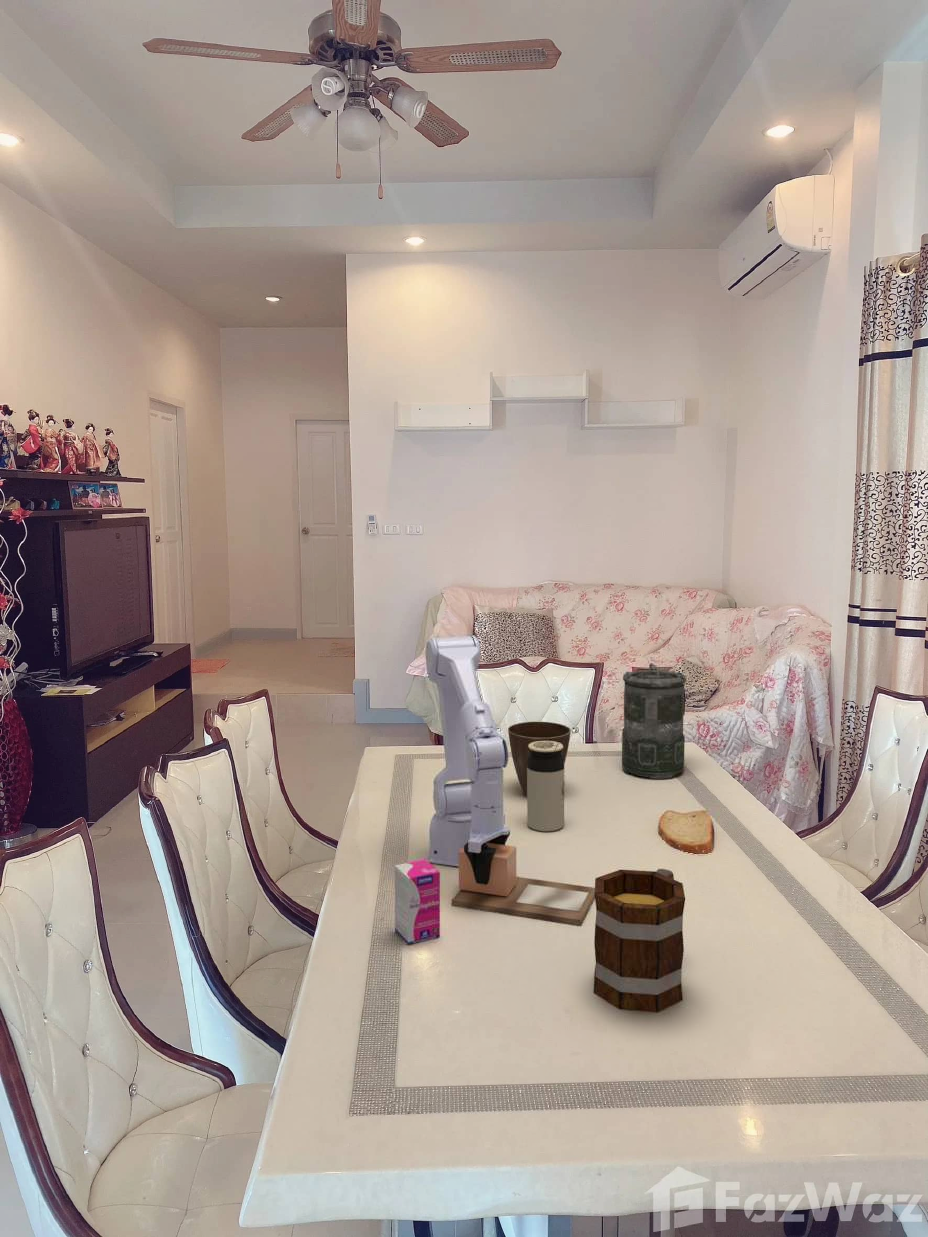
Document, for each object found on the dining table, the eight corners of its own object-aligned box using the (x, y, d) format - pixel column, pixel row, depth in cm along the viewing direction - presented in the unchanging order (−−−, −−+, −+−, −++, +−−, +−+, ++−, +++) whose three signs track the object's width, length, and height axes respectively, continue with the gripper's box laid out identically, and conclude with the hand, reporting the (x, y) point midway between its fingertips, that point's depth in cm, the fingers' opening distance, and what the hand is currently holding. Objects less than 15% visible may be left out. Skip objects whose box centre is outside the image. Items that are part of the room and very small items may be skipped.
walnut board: (451, 905, 155) (451, 899, 155) (476, 876, 167) (476, 870, 167) (580, 926, 147) (580, 919, 147) (597, 893, 159) (597, 887, 159)
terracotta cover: (458, 889, 158) (458, 851, 158) (469, 876, 164) (469, 840, 163) (507, 896, 155) (506, 858, 154) (516, 883, 161) (516, 846, 160)
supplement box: (408, 946, 141) (407, 878, 140) (394, 930, 146) (392, 864, 145) (441, 938, 144) (440, 870, 142) (426, 923, 149) (425, 857, 147)
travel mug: (522, 829, 191) (522, 748, 188) (533, 817, 198) (533, 738, 196) (558, 834, 188) (558, 751, 185) (568, 821, 195) (568, 742, 193)
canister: (614, 763, 238) (615, 660, 234) (671, 760, 240) (673, 658, 236) (631, 781, 222) (633, 671, 219) (693, 778, 224) (695, 669, 220)
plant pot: (580, 790, 216) (581, 726, 214) (553, 808, 204) (553, 740, 201) (526, 780, 224) (526, 718, 222) (496, 797, 212) (496, 732, 209)
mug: (666, 1024, 119) (668, 918, 118) (575, 995, 127) (575, 895, 125) (710, 960, 136) (712, 866, 134) (626, 937, 143) (628, 848, 141)
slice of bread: (699, 860, 175) (700, 842, 174) (630, 834, 189) (630, 817, 188) (753, 838, 186) (754, 820, 185) (683, 814, 200) (683, 798, 199)
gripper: (495, 819, 149) (496, 896, 151) (520, 792, 163) (520, 863, 165) (456, 815, 152) (457, 890, 154) (484, 789, 165) (484, 858, 167)
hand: (487, 876), depth 159 cm, fingers closed on terracotta cover, 6 cm apart
